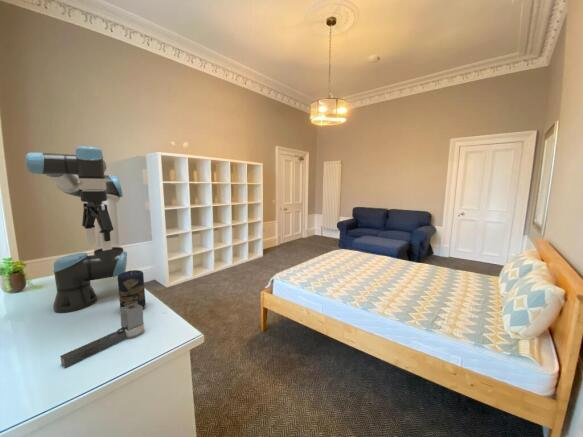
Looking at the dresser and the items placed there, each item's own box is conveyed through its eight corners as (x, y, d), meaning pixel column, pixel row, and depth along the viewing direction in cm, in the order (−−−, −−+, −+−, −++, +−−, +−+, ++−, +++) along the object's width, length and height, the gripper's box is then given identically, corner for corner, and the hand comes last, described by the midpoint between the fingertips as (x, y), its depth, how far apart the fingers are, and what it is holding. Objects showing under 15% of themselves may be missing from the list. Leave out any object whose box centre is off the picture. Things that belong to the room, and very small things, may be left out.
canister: (118, 317, 103) (114, 276, 101) (122, 307, 111) (118, 269, 109) (145, 311, 107) (142, 272, 105) (146, 302, 116) (143, 265, 113)
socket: (121, 326, 90) (120, 307, 90) (136, 320, 95) (135, 302, 94) (128, 330, 88) (127, 311, 87) (143, 324, 92) (142, 305, 91)
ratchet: (59, 361, 77) (56, 340, 76) (138, 325, 97) (136, 308, 96) (67, 370, 73) (64, 348, 72) (147, 331, 93) (146, 313, 92)
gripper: (67, 190, 93) (74, 244, 96) (95, 191, 80) (101, 254, 83) (91, 190, 99) (97, 241, 102) (121, 190, 86) (126, 249, 89)
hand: (99, 247), depth 92 cm, fingers open, 13 cm apart
